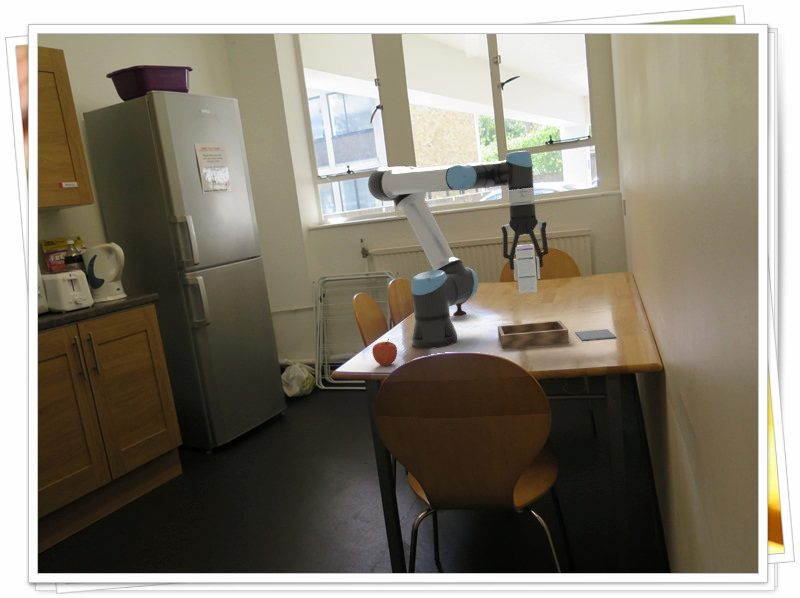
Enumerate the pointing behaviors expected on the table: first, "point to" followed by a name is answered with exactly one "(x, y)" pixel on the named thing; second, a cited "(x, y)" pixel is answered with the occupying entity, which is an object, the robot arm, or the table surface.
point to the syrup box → (526, 268)
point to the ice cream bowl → (459, 310)
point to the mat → (595, 335)
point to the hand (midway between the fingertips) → (527, 278)
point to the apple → (384, 353)
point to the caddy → (533, 334)
